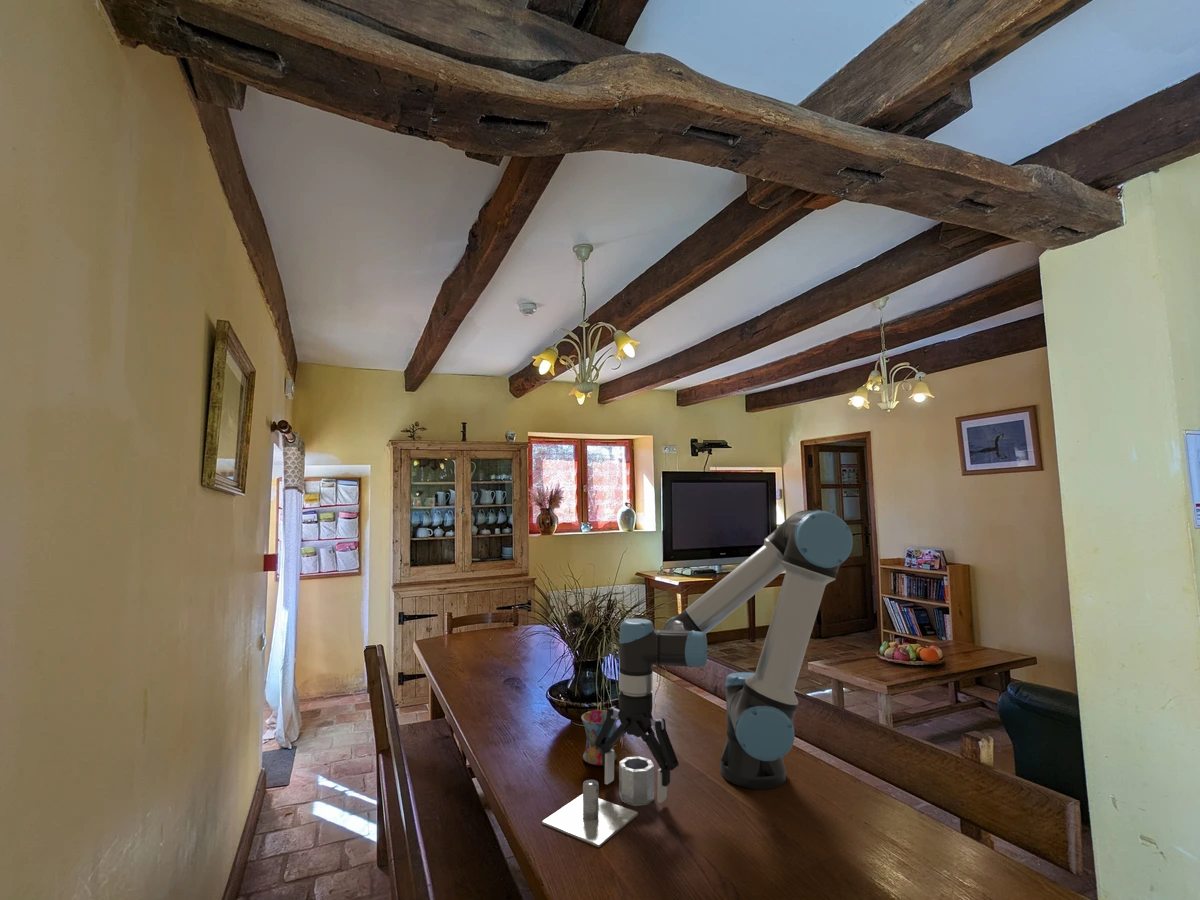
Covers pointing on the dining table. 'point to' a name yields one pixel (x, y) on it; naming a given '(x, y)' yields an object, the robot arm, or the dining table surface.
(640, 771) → the grey hollow octagonal block
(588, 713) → the mug
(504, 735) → the dining table surface
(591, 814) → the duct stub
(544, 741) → the dining table surface
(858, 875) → the dining table surface
